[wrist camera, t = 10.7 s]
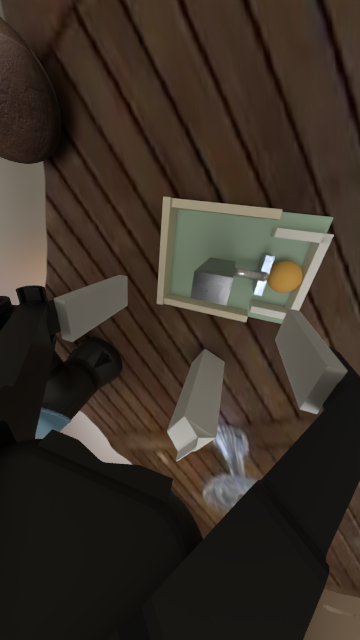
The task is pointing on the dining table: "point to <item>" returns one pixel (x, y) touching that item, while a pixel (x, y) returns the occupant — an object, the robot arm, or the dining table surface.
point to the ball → (285, 276)
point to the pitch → (237, 254)
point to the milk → (198, 405)
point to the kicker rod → (227, 278)
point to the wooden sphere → (25, 103)
